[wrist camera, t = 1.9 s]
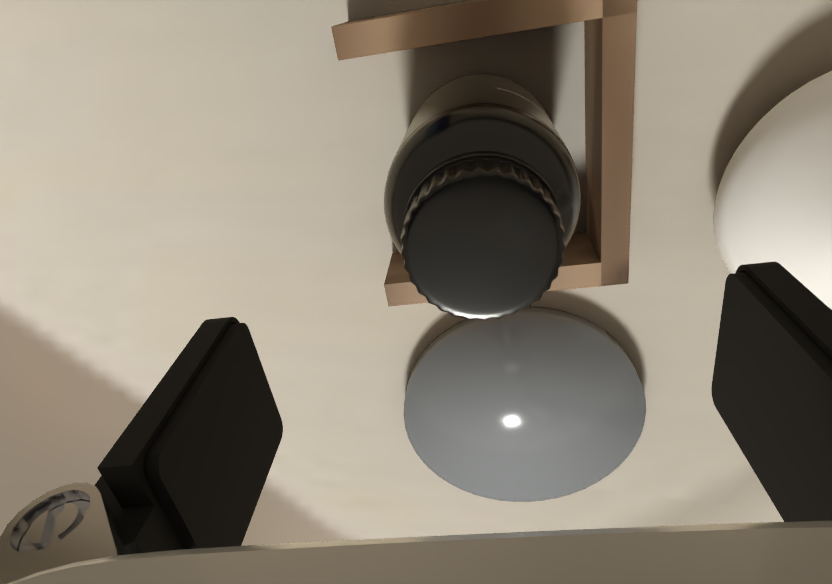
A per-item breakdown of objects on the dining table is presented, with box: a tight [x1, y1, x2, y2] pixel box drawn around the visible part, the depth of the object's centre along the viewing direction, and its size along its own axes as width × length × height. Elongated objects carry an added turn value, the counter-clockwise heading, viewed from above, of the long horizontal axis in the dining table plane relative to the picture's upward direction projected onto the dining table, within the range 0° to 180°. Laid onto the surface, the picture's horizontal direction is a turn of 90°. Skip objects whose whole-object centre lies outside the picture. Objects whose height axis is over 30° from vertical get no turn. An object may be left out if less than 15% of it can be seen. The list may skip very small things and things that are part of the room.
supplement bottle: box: [384, 74, 581, 321], centre depth 21 cm, size 7×7×12 cm
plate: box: [404, 307, 646, 502], centre depth 33 cm, size 14×14×1 cm
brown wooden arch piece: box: [332, 0, 637, 306], centre depth 25 cm, size 11×12×4 cm
